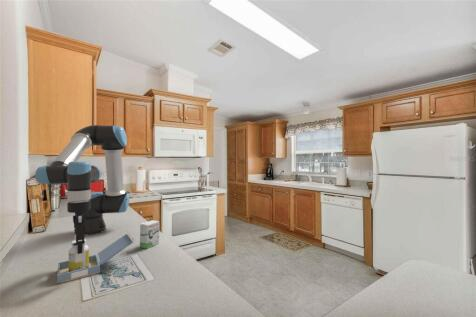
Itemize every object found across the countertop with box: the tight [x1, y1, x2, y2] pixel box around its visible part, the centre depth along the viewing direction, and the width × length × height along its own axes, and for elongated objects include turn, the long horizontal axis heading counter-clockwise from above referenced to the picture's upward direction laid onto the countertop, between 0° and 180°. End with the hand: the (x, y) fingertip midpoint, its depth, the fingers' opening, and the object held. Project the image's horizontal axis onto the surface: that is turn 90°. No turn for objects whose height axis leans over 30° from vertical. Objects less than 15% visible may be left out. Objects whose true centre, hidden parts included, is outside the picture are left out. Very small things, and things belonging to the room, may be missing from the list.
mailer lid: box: [97, 231, 135, 266], centre depth 96 cm, size 12×14×2 cm
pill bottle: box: [68, 238, 90, 272], centre depth 88 cm, size 6×6×12 cm
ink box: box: [139, 219, 160, 249], centre depth 115 cm, size 9×5×12 cm, turn 155°
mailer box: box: [56, 254, 101, 285], centre depth 88 cm, size 12×13×3 cm
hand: (79, 255), depth 88 cm, fingers open, 12 cm apart
